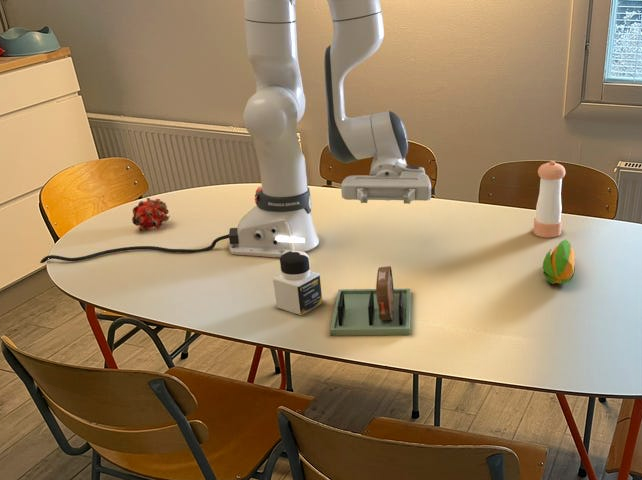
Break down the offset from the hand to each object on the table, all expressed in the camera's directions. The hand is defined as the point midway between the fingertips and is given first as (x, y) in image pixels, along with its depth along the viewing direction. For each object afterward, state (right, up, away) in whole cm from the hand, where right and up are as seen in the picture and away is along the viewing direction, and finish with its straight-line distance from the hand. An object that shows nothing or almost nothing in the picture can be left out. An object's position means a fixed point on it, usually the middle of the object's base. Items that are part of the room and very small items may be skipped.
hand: (385, 200), depth 162 cm
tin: (0, -25, -4) cm, 25 cm away
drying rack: (-2, -25, -4) cm, 26 cm away
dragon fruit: (-66, 0, +38) cm, 76 cm away
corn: (+40, -15, +14) cm, 45 cm away
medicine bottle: (-19, -23, -1) cm, 30 cm away
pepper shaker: (+40, -1, +36) cm, 54 cm away
